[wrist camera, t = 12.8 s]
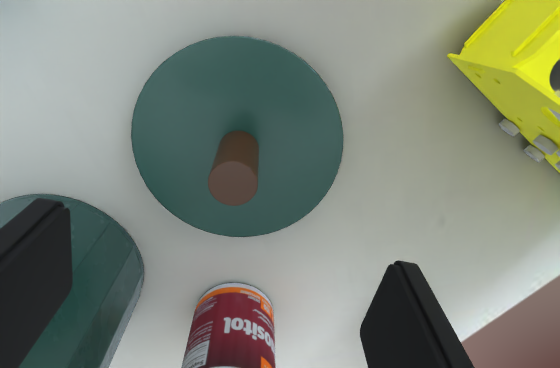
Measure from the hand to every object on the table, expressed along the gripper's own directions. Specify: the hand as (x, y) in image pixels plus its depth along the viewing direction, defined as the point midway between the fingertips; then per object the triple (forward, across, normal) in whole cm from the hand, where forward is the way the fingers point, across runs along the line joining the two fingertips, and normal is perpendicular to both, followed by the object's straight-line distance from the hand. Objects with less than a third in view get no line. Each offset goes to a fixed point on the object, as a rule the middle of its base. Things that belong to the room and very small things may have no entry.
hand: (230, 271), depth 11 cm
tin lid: (+12, +1, +1) cm, 13 cm away
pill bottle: (+13, -2, +15) cm, 20 cm away
